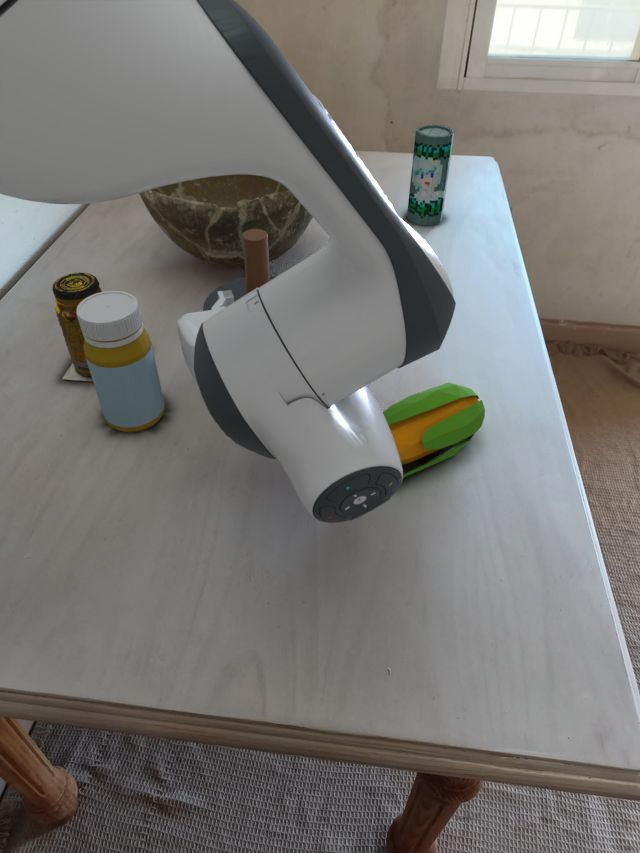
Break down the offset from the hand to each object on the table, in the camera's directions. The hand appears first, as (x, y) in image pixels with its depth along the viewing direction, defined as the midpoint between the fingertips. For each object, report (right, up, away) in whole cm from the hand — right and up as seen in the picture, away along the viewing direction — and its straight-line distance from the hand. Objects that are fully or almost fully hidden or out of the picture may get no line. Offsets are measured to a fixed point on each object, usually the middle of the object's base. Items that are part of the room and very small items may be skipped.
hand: (269, 289), depth 66 cm
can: (+24, +23, +48) cm, 59 cm away
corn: (+15, -18, +4) cm, 24 cm away
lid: (-2, 0, +10) cm, 10 cm away
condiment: (-23, -6, +16) cm, 28 cm away
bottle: (-17, -13, +9) cm, 23 cm away
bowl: (-8, +13, +37) cm, 40 cm away
